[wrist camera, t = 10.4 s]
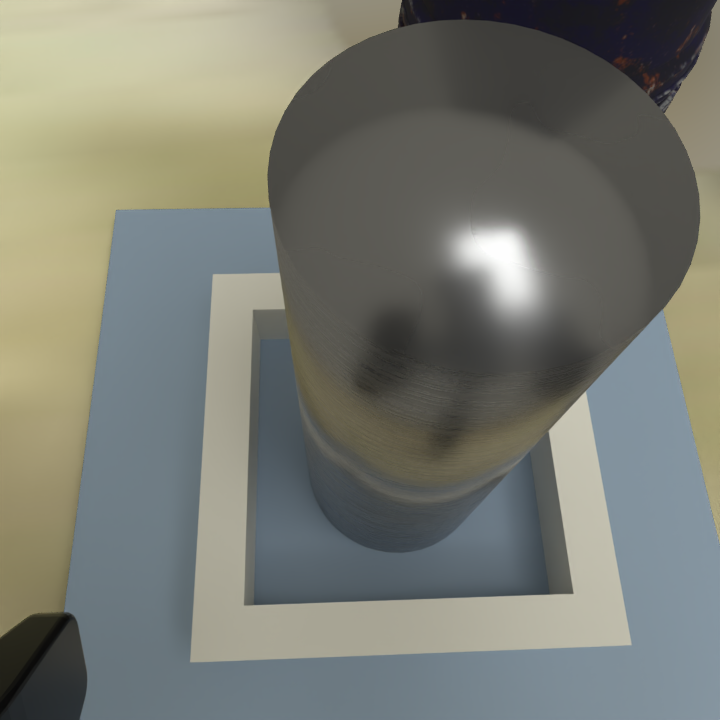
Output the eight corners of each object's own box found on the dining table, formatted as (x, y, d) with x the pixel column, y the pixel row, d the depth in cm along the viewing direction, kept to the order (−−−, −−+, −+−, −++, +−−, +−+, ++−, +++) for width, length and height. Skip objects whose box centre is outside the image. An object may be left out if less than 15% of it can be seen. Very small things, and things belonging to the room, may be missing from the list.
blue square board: (765, 802, 17) (838, 828, 15) (47, 837, 17) (-7, 870, 14) (628, 215, 25) (661, 164, 22) (123, 223, 24) (96, 171, 21)
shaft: (351, 583, 18) (379, 448, 7) (283, 422, 20) (207, 85, 8) (511, 508, 19) (790, 270, 7) (432, 360, 21) (557, -20, 9)
